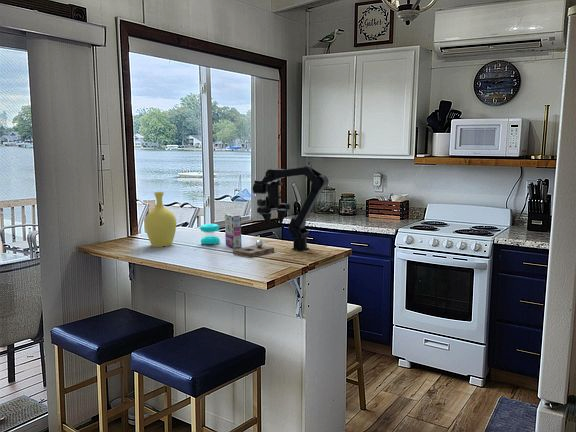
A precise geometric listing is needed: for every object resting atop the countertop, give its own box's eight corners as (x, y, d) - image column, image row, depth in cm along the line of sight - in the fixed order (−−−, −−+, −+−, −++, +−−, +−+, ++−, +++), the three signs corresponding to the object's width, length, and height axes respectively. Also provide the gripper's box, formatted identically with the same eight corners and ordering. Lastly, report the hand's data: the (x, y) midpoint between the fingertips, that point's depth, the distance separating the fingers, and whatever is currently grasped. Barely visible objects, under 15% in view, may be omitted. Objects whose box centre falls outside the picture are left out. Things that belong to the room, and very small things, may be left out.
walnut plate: (256, 248, 250) (256, 244, 250) (274, 251, 242) (274, 247, 242) (232, 254, 238) (232, 250, 238) (250, 257, 230) (250, 253, 230)
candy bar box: (242, 247, 253) (241, 215, 250) (233, 248, 250) (231, 216, 248) (234, 243, 263) (233, 213, 260) (225, 245, 260) (224, 213, 258)
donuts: (221, 223, 268) (215, 226, 258) (222, 241, 269) (216, 245, 260) (203, 223, 270) (197, 226, 260) (204, 241, 271) (198, 245, 261)
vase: (139, 247, 259) (136, 193, 255) (157, 241, 274) (154, 190, 270) (166, 248, 254) (163, 194, 250) (183, 242, 269) (180, 190, 265)
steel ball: (259, 246, 245) (259, 239, 245) (264, 247, 243) (264, 240, 242) (254, 247, 243) (254, 240, 242) (259, 248, 240) (259, 241, 240)
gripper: (274, 191, 259) (274, 221, 262) (248, 195, 245) (249, 226, 248) (290, 192, 252) (291, 223, 254) (264, 196, 238) (265, 228, 240)
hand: (274, 225), depth 249 cm, fingers open, 9 cm apart
